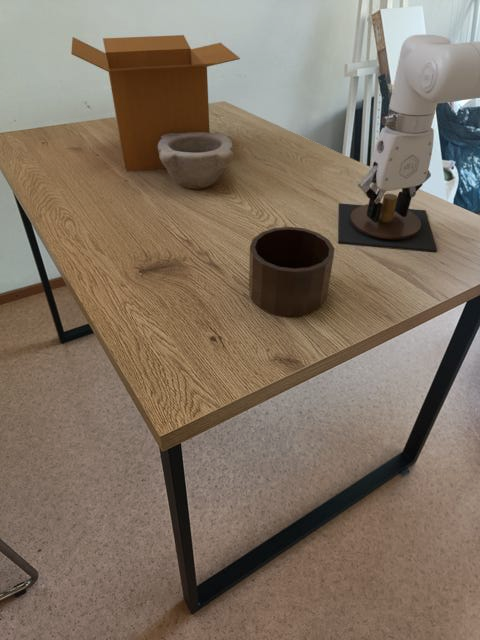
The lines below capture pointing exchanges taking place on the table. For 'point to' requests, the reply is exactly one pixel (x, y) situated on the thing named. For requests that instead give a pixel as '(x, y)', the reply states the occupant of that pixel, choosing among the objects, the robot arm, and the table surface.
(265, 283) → the tin
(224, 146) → the mortar
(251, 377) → the table surface
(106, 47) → the box
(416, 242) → the mat
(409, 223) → the tin lid
